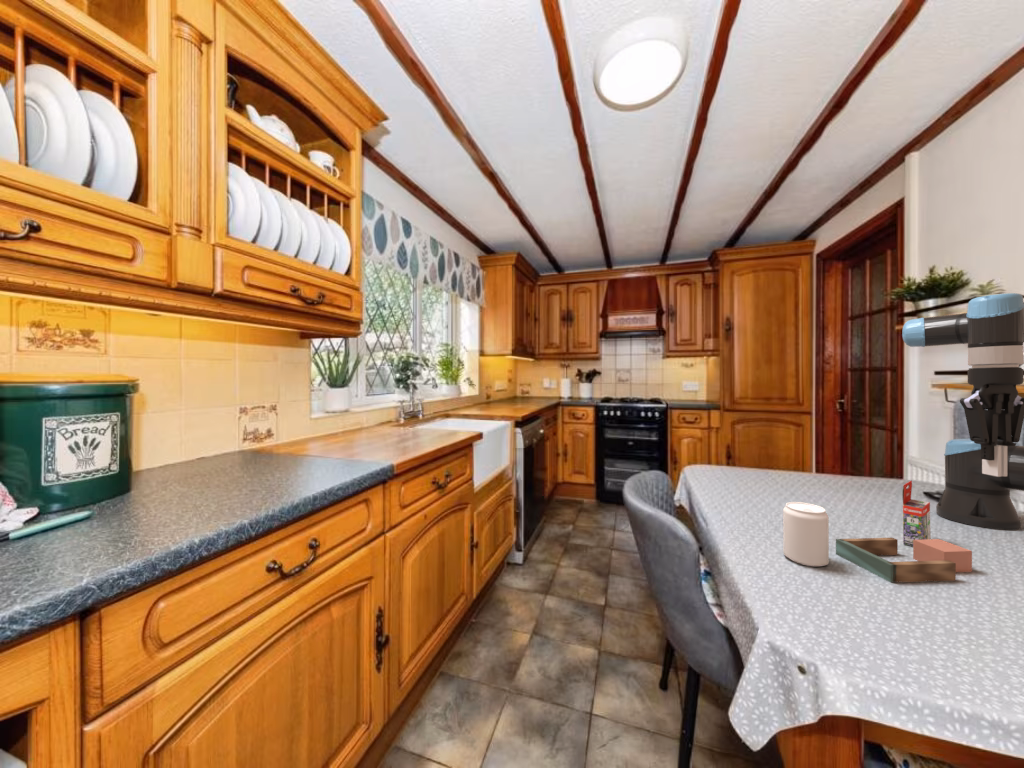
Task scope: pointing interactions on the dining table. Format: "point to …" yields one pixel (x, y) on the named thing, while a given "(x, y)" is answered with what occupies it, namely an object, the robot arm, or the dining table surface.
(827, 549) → the beverage can
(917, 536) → the ink box
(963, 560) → the terracotta brick
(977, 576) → the dining table surface
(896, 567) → the bay
